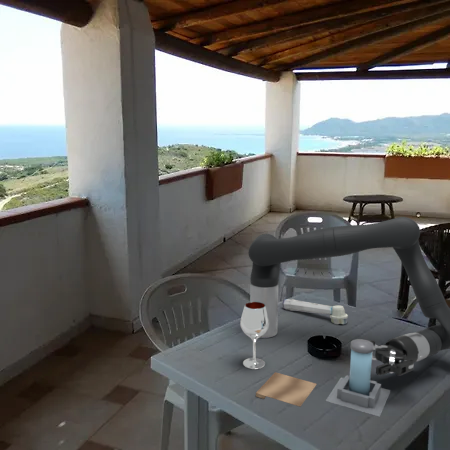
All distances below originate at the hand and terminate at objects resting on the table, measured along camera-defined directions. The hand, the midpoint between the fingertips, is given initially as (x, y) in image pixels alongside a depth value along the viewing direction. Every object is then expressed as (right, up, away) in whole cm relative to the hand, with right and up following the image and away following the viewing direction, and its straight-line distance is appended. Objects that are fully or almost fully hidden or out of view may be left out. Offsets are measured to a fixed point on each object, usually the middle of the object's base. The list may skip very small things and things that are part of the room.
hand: (363, 363), depth 117 cm
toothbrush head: (-2, +1, +55) cm, 55 cm away
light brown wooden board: (-19, -9, +5) cm, 21 cm away
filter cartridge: (-1, -8, +1) cm, 8 cm away
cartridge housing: (-1, -9, +1) cm, 9 cm away
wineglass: (-26, -6, +19) cm, 33 cm away
